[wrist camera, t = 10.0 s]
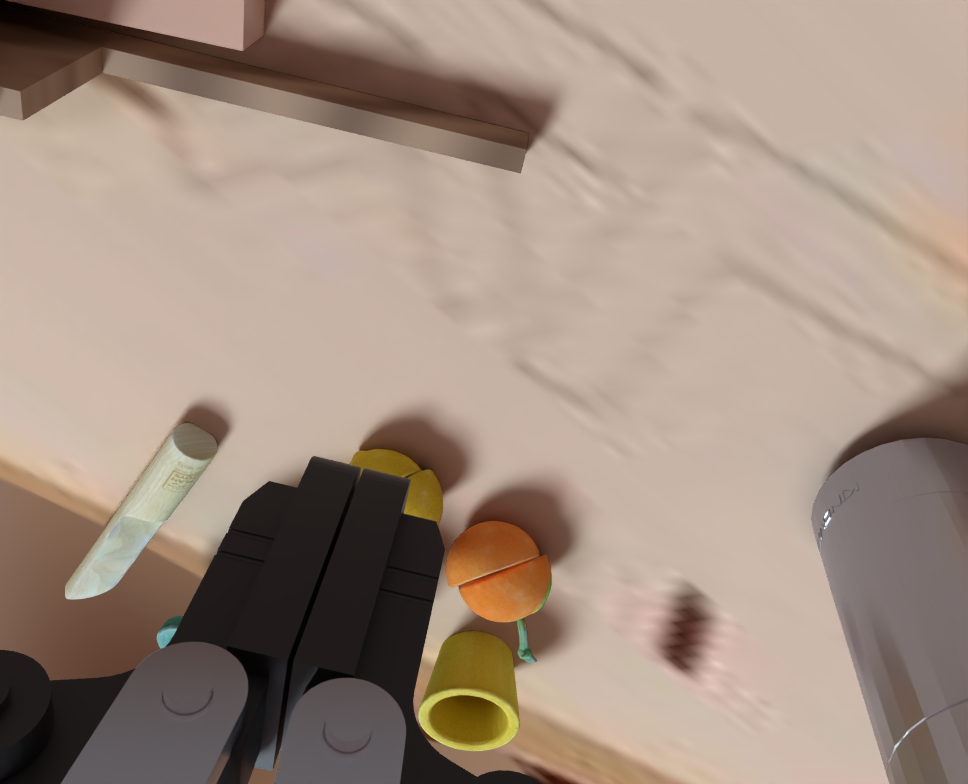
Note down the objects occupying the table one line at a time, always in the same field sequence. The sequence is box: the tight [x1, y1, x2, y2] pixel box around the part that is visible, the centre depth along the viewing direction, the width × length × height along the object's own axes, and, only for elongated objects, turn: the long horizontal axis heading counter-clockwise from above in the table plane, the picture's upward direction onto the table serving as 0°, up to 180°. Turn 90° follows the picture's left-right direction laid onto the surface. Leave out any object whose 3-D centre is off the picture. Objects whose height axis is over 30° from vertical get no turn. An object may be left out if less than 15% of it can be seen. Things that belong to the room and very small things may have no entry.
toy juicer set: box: [65, 423, 552, 751], centre depth 49 cm, size 29×18×8 cm, turn 74°
